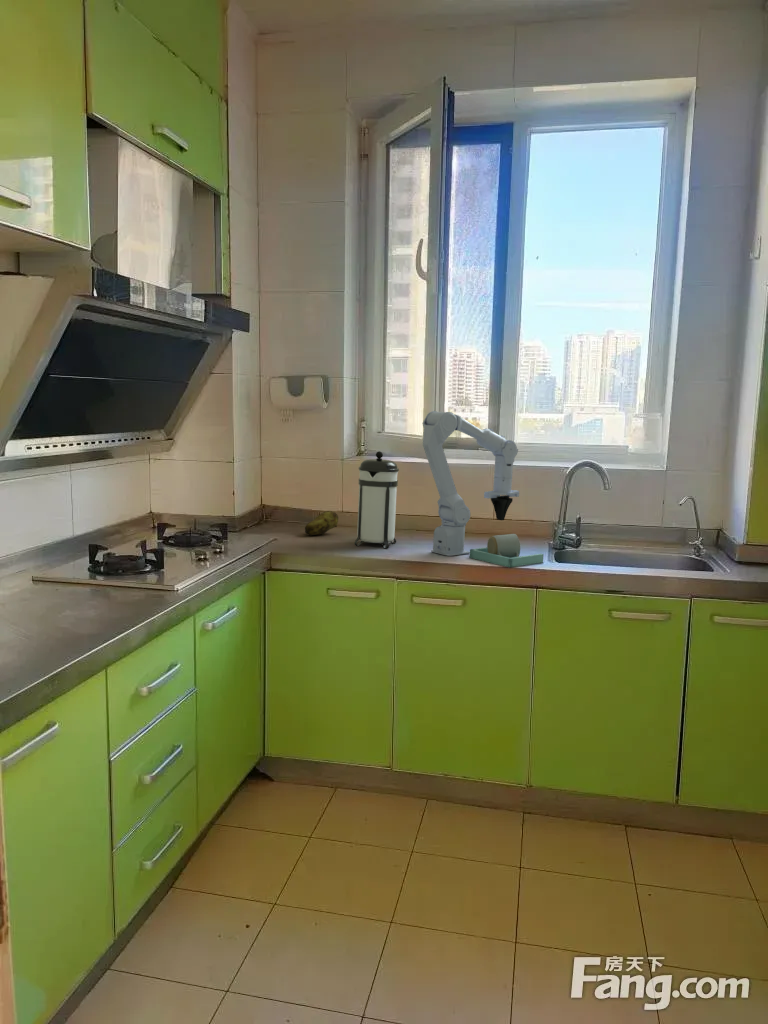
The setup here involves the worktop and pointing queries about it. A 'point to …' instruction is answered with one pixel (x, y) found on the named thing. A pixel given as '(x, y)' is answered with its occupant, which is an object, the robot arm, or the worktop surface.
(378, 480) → the coffee press
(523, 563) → the tray
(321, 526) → the olive green rounded lump
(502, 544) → the ceramic mug
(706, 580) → the worktop surface
